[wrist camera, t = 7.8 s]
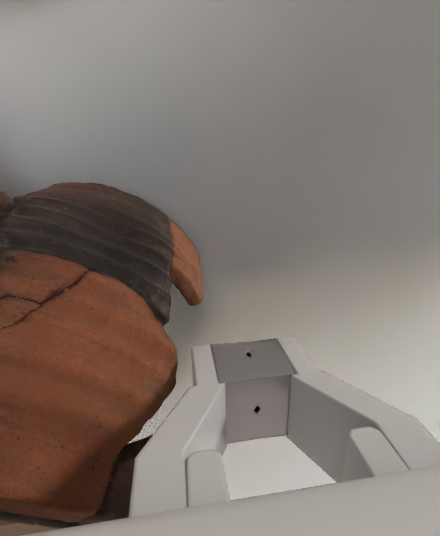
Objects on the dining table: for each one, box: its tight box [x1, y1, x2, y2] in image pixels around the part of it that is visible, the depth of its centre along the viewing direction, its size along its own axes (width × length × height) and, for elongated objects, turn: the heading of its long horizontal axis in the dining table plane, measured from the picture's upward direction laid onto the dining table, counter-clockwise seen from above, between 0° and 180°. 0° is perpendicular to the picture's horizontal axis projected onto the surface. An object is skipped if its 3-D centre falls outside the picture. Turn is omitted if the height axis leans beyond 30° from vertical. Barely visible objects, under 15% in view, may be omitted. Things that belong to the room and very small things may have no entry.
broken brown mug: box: [0, 183, 203, 529], centre depth 10 cm, size 12×9×8 cm
